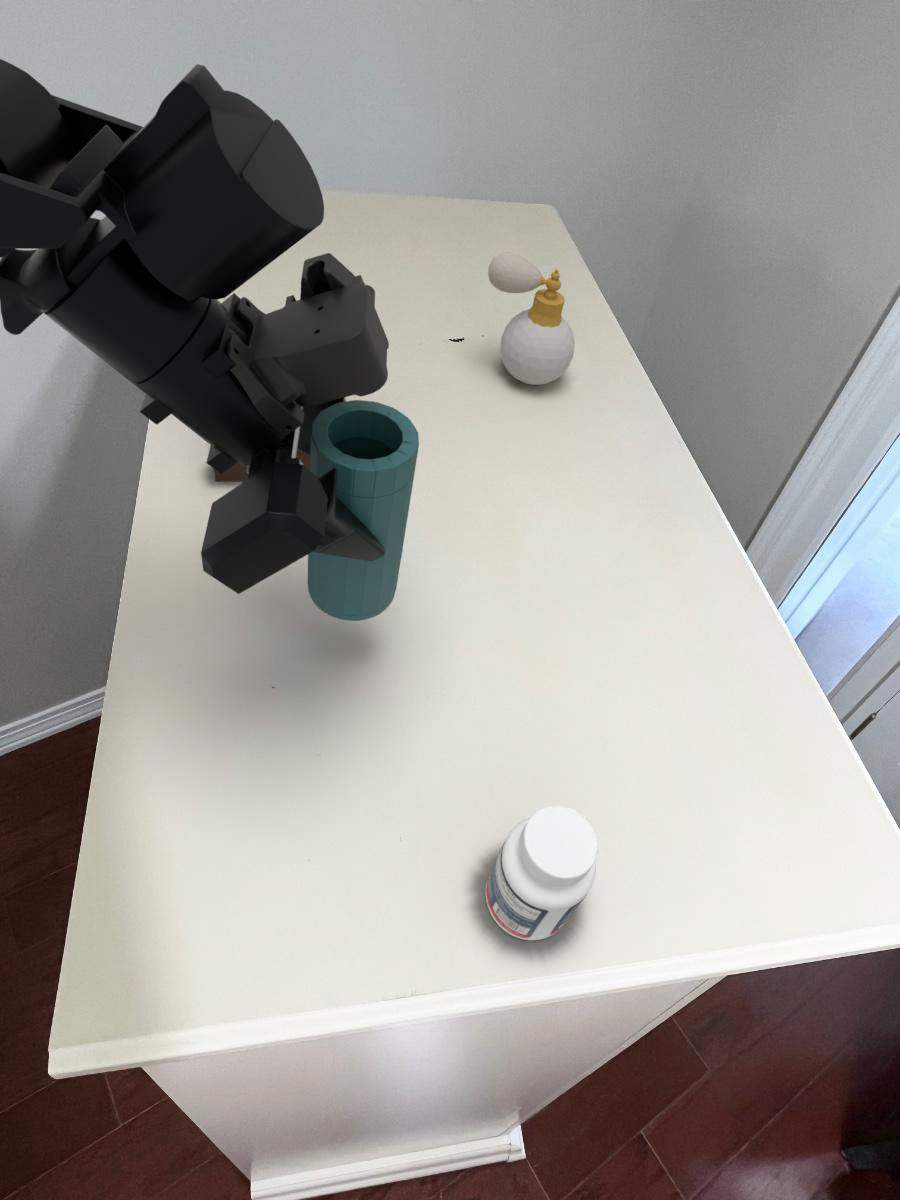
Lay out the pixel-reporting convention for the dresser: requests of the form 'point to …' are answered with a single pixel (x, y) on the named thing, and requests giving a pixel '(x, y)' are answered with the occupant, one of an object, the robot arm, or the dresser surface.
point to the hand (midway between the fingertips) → (380, 519)
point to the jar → (363, 502)
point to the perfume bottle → (533, 322)
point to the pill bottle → (542, 873)
